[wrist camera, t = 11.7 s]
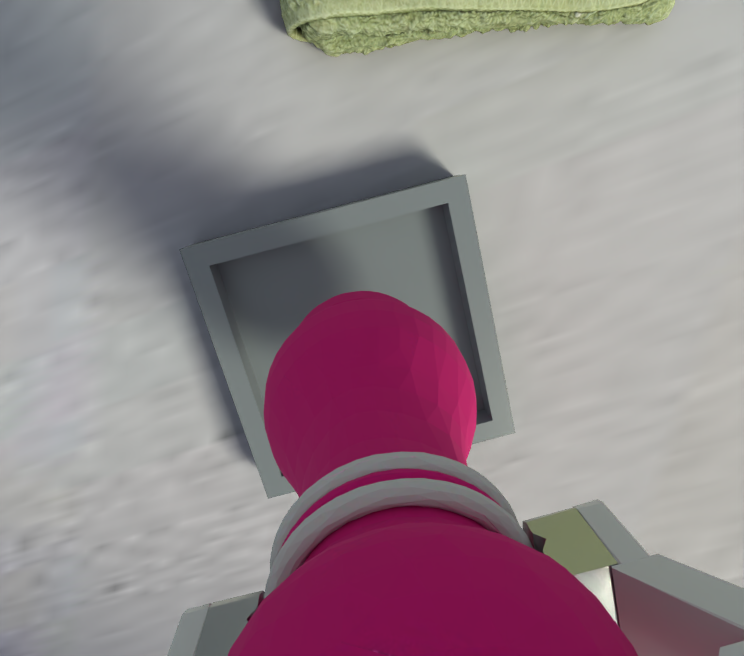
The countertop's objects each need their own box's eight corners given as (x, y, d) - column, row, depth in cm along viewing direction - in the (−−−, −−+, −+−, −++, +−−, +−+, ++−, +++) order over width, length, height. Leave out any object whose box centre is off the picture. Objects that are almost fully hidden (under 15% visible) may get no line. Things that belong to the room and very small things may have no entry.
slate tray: (501, 414, 28) (515, 432, 26) (272, 475, 28) (268, 498, 26) (454, 175, 25) (465, 174, 23) (192, 244, 25) (179, 249, 22)
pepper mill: (253, 406, 22) (-250, 1837, 3) (313, 251, 21) (61, 1165, 1) (405, 458, 23) (747, 1709, 4) (472, 315, 22) (1516, 1264, 3)
